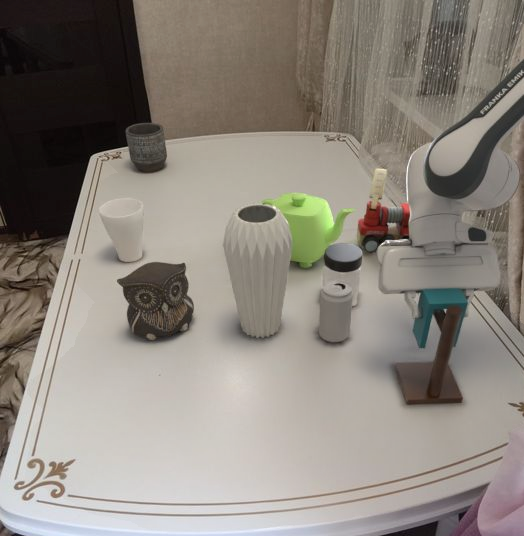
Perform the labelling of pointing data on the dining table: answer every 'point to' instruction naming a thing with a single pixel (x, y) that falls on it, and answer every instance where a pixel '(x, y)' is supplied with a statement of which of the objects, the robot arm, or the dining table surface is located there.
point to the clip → (436, 301)
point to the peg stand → (433, 366)
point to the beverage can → (335, 310)
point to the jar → (343, 265)
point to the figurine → (157, 299)
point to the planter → (147, 146)
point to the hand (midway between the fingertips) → (440, 317)
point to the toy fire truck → (382, 218)
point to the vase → (258, 265)
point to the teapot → (309, 225)
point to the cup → (124, 226)
